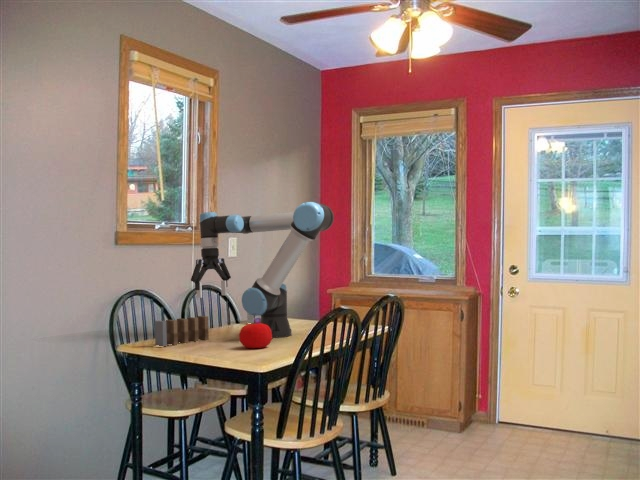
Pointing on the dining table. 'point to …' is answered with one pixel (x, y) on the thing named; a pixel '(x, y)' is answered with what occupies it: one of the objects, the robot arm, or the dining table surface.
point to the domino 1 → (160, 333)
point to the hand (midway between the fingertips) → (212, 296)
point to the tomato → (255, 335)
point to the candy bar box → (253, 318)
